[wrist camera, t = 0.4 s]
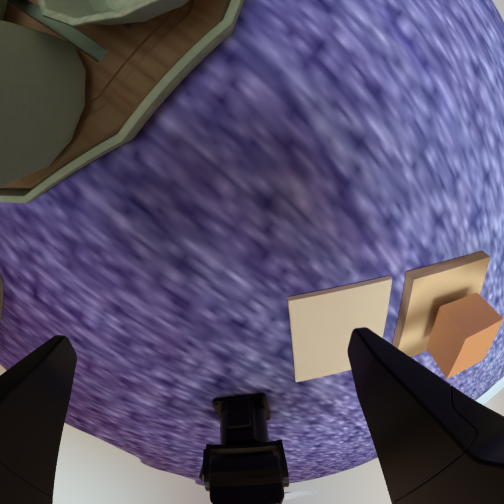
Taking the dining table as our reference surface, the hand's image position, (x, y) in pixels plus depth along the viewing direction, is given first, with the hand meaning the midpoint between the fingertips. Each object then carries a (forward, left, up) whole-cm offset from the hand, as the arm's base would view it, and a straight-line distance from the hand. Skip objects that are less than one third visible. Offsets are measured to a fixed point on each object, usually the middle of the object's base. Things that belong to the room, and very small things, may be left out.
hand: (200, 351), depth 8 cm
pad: (-15, -9, -14) cm, 23 cm away
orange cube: (-15, -22, -11) cm, 29 cm away
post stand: (-15, -22, -14) cm, 30 cm away
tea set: (+25, +13, -15) cm, 32 cm away
